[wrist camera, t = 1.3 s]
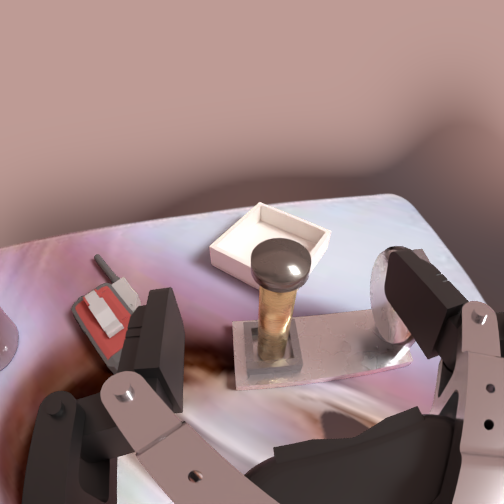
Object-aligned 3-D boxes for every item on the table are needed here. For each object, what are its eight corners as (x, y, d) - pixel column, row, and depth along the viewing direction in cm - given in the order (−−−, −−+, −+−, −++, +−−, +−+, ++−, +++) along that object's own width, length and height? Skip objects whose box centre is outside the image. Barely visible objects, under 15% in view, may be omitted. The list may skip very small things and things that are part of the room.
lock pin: (242, 354, 32) (238, 264, 22) (265, 326, 34) (271, 230, 25) (277, 375, 30) (293, 291, 20) (299, 344, 33) (321, 252, 23)
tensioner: (236, 397, 29) (228, 329, 20) (232, 321, 36) (225, 232, 27) (410, 371, 31) (471, 298, 21) (387, 306, 37) (426, 225, 28)
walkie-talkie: (181, 344, 34) (104, 258, 44) (173, 323, 31) (95, 237, 41) (122, 388, 30) (59, 288, 40) (108, 372, 27) (47, 268, 37)
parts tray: (211, 265, 43) (209, 246, 40) (259, 219, 50) (259, 202, 48) (287, 304, 38) (290, 286, 36) (327, 249, 45) (331, 231, 43)
